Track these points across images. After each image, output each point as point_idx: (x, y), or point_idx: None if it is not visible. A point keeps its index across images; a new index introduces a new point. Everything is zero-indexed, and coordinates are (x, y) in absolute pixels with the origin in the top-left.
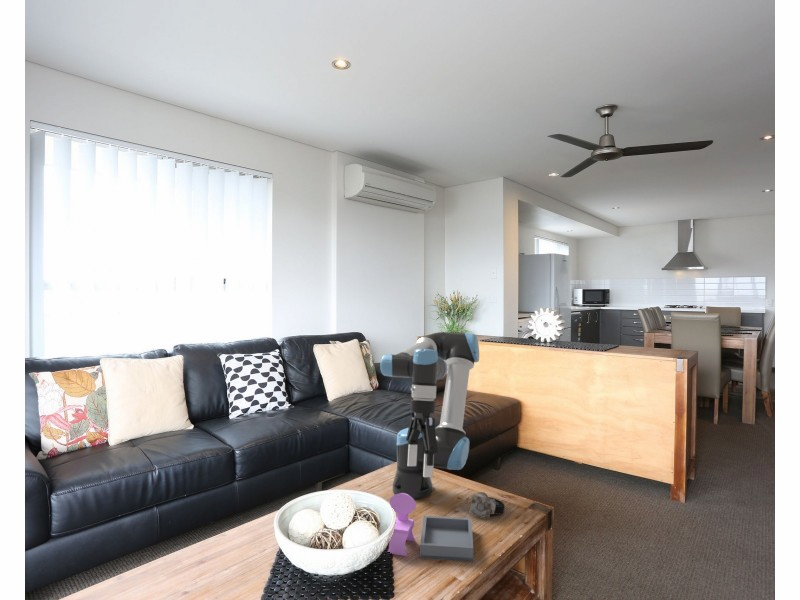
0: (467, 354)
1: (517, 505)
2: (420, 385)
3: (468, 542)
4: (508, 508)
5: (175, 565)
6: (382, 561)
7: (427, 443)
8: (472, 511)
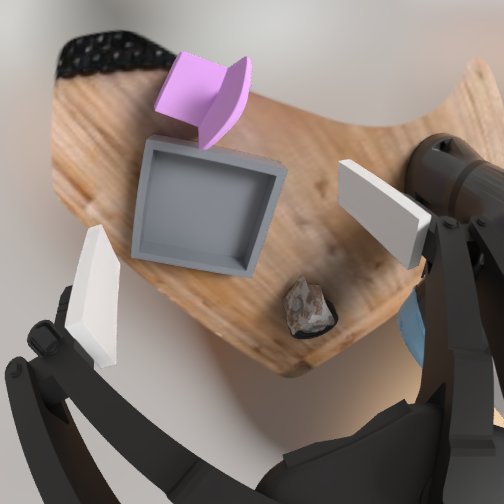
0: None
1: (314, 349)
2: None
3: (191, 248)
4: None
5: None
6: (154, 48)
7: (39, 408)
8: (301, 283)
